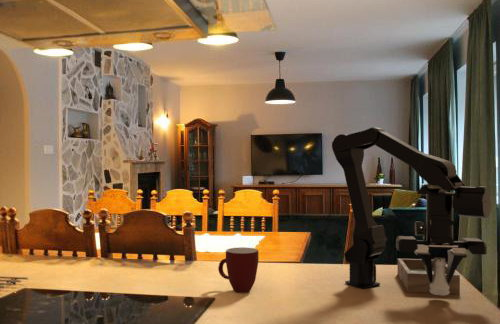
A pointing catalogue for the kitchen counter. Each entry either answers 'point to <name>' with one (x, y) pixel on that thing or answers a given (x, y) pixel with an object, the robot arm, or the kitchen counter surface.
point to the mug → (240, 268)
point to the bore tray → (422, 276)
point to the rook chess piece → (439, 278)
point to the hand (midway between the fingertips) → (439, 282)
